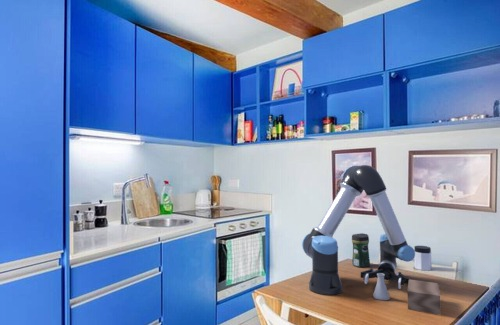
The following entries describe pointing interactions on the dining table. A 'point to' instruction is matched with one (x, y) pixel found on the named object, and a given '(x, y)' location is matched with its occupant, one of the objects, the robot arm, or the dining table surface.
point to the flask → (381, 288)
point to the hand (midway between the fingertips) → (382, 283)
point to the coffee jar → (360, 250)
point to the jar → (422, 258)
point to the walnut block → (424, 296)
